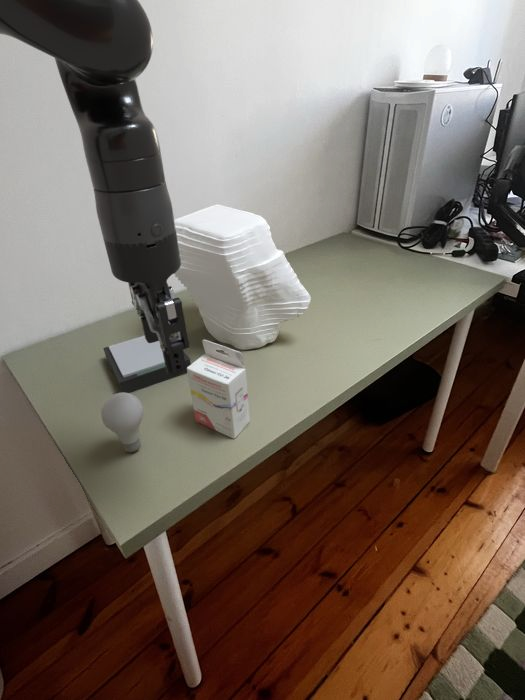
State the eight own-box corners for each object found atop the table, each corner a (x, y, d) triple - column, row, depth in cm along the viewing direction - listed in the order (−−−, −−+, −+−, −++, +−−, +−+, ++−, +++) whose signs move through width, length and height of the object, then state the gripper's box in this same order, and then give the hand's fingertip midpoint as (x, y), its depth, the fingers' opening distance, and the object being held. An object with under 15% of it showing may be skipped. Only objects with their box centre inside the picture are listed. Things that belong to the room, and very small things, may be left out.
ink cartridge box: (194, 422, 75) (181, 352, 67) (212, 406, 78) (201, 336, 70) (234, 440, 71) (226, 367, 62) (251, 422, 74) (245, 350, 66)
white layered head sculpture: (240, 300, 112) (231, 199, 98) (314, 341, 94) (316, 224, 80) (168, 329, 102) (146, 220, 87) (235, 382, 84) (222, 255, 69)
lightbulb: (145, 430, 74) (131, 379, 68) (158, 453, 69) (144, 400, 63) (109, 445, 71) (91, 394, 65) (120, 470, 67) (102, 416, 61)
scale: (123, 395, 82) (118, 380, 80) (106, 359, 92) (102, 345, 90) (192, 371, 87) (189, 356, 85) (169, 340, 98) (166, 326, 96)
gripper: (89, 219, 49) (121, 339, 58) (120, 257, 39) (153, 397, 48) (153, 207, 52) (174, 323, 61) (198, 240, 42) (215, 374, 51)
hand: (165, 355), depth 54 cm, fingers open, 8 cm apart
